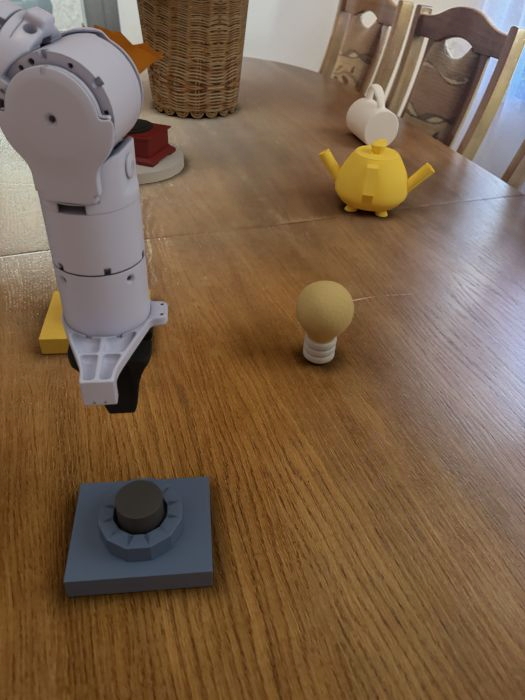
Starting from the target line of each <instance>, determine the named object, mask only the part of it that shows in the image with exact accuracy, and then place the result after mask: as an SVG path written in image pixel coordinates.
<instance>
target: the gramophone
mask: <svg viewBox="0 0 525 700" xmlns="http://www.w3.org/2000/svg"><path fill="white" fill-rule="evenodd" d="M82 27H86V26H85V25H84V24H82ZM92 28H95V29H99V30H101V31H103V32H104V33H105V34H106V36H107V37H108V38H109V39H110V40H112V41H113V42H115V43H116V44H118V45H119V46H120V47H121V48H122V49H123V50H124V51H125V52H126V53H127V54H128V55H129V57H130V58H131V59H132V61H133V62H134V64H135V66H136V68H137V70H138V72H139V74H140V75H141V74H142V73H143V72H144V71H145V70H147V68H148V67H149V66H150V65H151V64H152V63H154V62H155V61H156V60H158V59H161V58H163V56H162V55H163V54H164V52H154V51H153V50H152V48H151V47H150V45H149V44H148V42H147V43H143V42H140V43H134V44H133V42H131V41H130V40H129V39H128V38H127V37H126V36H125V35H124V34H123V32H121V31H117V30H110V29H107V28H104V27H102V26H100V25H97V24H93V27H92ZM171 127H172V125H168V124H163V123H156V122H151V121H149V120H147V119H143V118H138V119H137V121H136V123H135V125H134V126H133V128H132V129H131V130H130V131H129V132H128V133H127V134H126V135H125V136H124V137H123V138H122V139H121V140H123V139H125V138H127V137H129V136H131V137H133V139H134V149H135V160H136V170H137V178H138V182H139V185H144V184H150V183H151V184H152V183H158V182H162V181H164V180H167V179H172V178H173V177H174V176H177V175H179V174H180V173H181V171H182V170H183V169H184V168H185V157H184V156H185V155H184V150H183V149H182V148H181V147H180V146H179V145H177V144H175V143H172V142H171V141H169V129H171Z"/></svg>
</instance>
